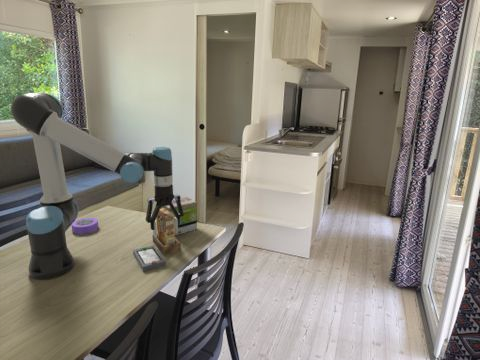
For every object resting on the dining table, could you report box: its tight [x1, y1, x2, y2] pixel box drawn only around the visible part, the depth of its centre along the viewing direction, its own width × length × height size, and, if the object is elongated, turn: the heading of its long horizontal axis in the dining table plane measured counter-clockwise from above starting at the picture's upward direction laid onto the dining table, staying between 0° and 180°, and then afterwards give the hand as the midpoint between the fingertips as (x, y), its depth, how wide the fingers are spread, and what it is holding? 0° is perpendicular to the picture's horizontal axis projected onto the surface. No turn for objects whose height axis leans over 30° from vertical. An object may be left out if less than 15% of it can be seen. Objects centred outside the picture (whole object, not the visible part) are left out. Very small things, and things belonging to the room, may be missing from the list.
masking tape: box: [71, 217, 99, 235], centre depth 161 cm, size 12×12×4 cm
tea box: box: [161, 196, 198, 236], centre depth 161 cm, size 15×10×15 cm, turn 129°
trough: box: [152, 233, 182, 256], centre depth 146 cm, size 8×14×4 cm, turn 31°
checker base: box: [132, 244, 167, 272], centre depth 135 cm, size 9×15×3 cm, turn 31°
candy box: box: [155, 208, 176, 246], centre depth 144 cm, size 9×4×15 cm, turn 41°
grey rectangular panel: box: [138, 249, 160, 264], centre depth 135 cm, size 6×11×1 cm, turn 31°
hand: (165, 233), depth 145 cm, fingers open, 9 cm apart
